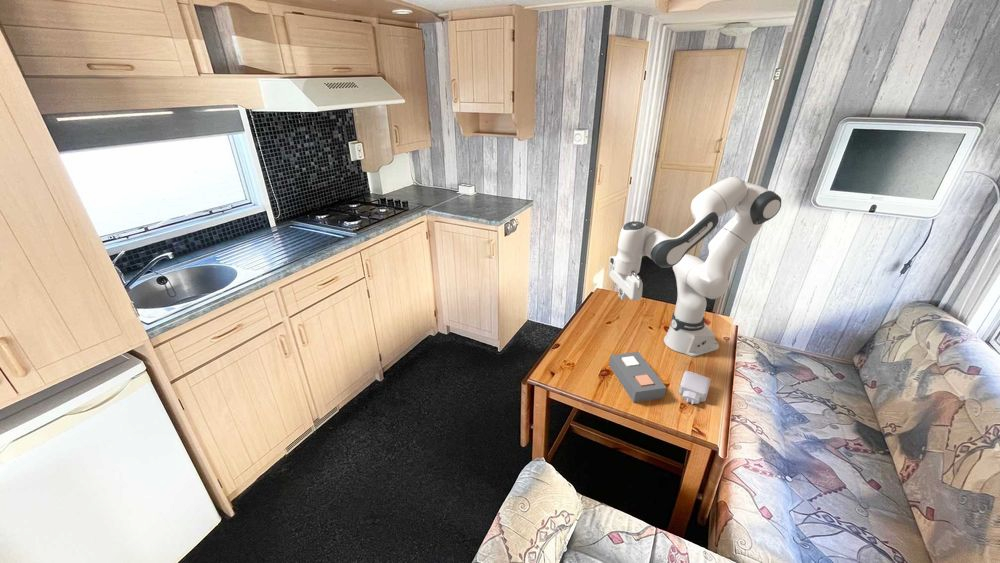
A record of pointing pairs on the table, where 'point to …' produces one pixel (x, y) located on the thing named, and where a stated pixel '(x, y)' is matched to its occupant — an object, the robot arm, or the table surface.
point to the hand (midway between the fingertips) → (622, 298)
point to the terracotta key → (644, 380)
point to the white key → (630, 361)
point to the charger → (694, 387)
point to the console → (629, 382)
